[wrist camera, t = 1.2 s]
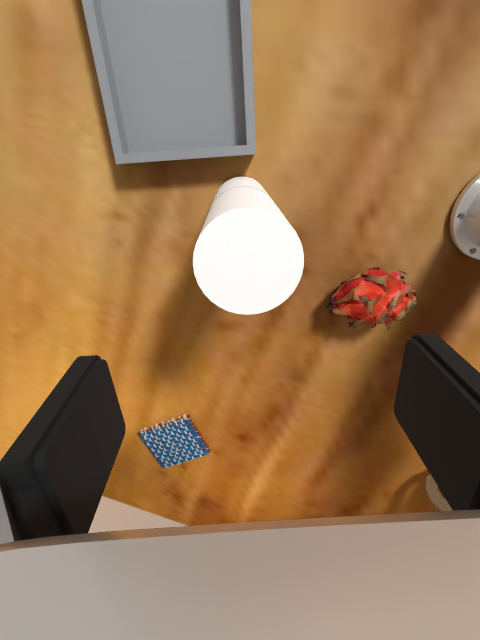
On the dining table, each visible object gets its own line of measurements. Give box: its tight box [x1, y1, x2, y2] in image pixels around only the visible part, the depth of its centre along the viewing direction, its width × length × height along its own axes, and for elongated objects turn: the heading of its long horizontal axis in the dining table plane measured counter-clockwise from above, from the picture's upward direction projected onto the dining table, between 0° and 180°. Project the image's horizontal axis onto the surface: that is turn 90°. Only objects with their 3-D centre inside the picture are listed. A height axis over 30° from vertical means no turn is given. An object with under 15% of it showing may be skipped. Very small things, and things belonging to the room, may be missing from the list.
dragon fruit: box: [326, 267, 416, 329], centre depth 46 cm, size 8×8×12 cm
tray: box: [82, 0, 256, 164], centre depth 35 cm, size 16×22×4 cm
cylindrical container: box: [193, 176, 304, 315], centre depth 33 cm, size 7×7×25 cm
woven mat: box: [138, 414, 210, 468], centre depth 62 cm, size 10×11×2 cm
